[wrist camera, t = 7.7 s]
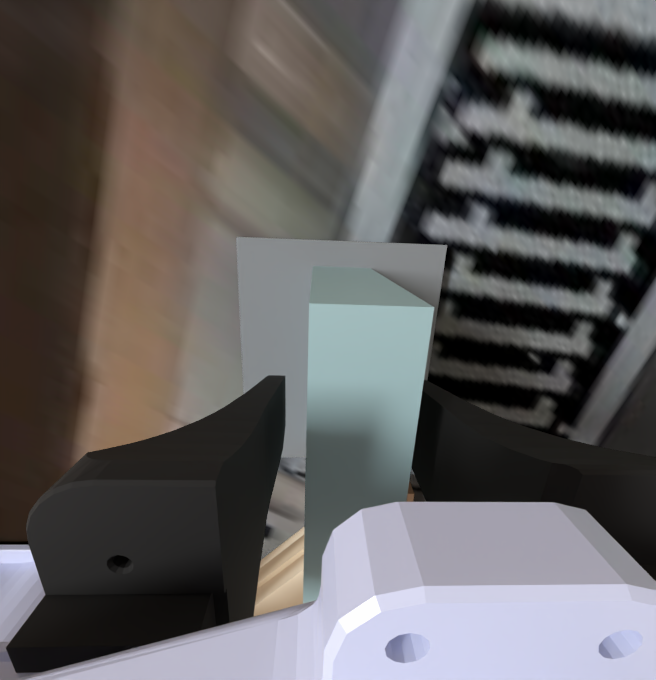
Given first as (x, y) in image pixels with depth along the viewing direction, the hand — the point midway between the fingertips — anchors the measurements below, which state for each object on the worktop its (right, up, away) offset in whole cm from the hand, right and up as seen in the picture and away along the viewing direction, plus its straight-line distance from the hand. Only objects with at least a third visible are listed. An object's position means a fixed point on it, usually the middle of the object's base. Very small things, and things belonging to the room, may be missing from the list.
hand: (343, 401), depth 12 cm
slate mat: (0, +1, +4) cm, 4 cm away
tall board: (0, +1, +4) cm, 4 cm away
